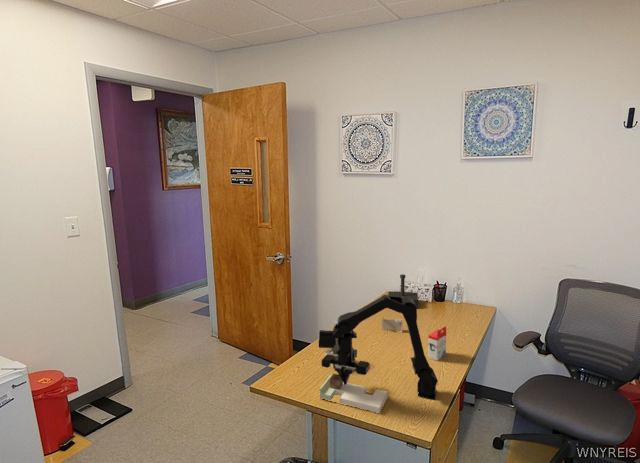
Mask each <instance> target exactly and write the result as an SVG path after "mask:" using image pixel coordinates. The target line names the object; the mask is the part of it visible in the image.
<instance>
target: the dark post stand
mask: <svg viewBox="0 0 640 463" xmlns="http://www.w3.org/2000/svg"><path fill="white" fill-rule="evenodd" d="M399 278H400V291H399V290H398V291H396V290H395V291H390V290H389V291H388V293H387V295H389V296H398V297H402V298H404V297H409V298H411V299H412V300H413V302H414V304H415V306H416V308H417V309H418V308H419V294H418V292H412V291H405V282H406V281H405V279H406V274H400V275H399Z"/></svg>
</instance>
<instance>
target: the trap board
mask: <svg viewBox="0 0 640 463" xmlns="http://www.w3.org/2000/svg"><path fill="white" fill-rule="evenodd" d="M332 375H333V374H330V375H329V376H328V377H327V379H325V381H324V382H323V384H321V386H320V388H319V399H320V398H323V399H327V400H331V399H332V398H333V396H334V395H340V396H341V397H340V403H343V404H347V405H351V406H355V407H358V408H362V409H365V410H364V411H366V410H370V411H373V412H372V413H374V412H376V413H375V414H378V413H381V412H382V410H383V408H384V405H385V403H386V401H387V399H388V391H387V390H382V389H377V388H376V389H375V390H374V392H373V393H371V392H367V386H364V385H358V384H354V383H349V382H347V384H346V385H345V384H344V383H343V385H342V387H341V388H340V390H338V389H333V388H330V378H331V376H332ZM382 407H383V408H382ZM358 408H357V409H358ZM362 409H361V410H362ZM381 409H382V410H381ZM370 411H369V412H370ZM380 411H381V412H380Z"/></svg>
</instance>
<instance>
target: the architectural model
mask: <svg viewBox="0 0 640 463" xmlns="http://www.w3.org/2000/svg"><path fill="white" fill-rule="evenodd" d="M337 351H338V338H336V345H334V347H333V348H327V349H326V350H325V351H324V355H325V356H326V355H327V354H328V355H333V356H335V357H336V360H338V354H337ZM332 367H333V368H332ZM329 368H332V369H335V368H336V366H335V364H330V366H329Z"/></svg>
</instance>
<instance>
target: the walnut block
mask: <svg viewBox="0 0 640 463" xmlns="http://www.w3.org/2000/svg"><path fill="white" fill-rule="evenodd" d="M331 375H332V376H331V378H330V388H333V389H338V390H340V388H341V387H342V385H343V381H342V379H341V377H340V375H339V374H338V373H332V374H331Z"/></svg>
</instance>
